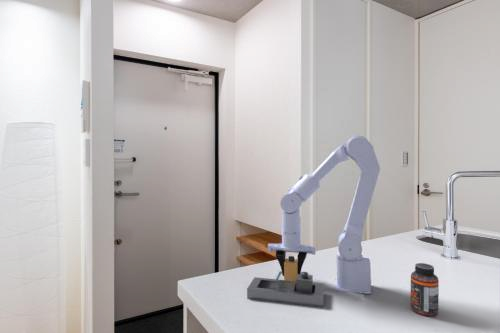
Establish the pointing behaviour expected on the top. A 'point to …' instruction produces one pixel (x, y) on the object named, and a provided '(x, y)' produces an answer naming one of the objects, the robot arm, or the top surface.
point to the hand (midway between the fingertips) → (291, 275)
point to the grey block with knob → (304, 283)
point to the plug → (290, 269)
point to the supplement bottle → (424, 290)
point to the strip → (284, 292)
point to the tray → (280, 275)
